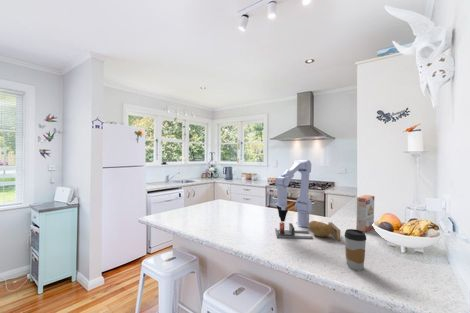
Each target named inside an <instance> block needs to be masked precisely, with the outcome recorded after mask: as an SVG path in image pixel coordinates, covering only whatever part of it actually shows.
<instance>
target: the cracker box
mask: <svg viewBox="0 0 470 313" xmlns="http://www.w3.org/2000/svg"><path fill="white" fill-rule="evenodd" d="M374 218H375V196H374V195H370V194H365V195H360V196H357V197H356V230H360V231H363V232H364V233H366V232H369V231H370V230H372V229H373V226H372V224H373V223H374V224H375V220H374Z"/></svg>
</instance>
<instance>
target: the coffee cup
mask: <svg viewBox="0 0 470 313" xmlns="http://www.w3.org/2000/svg"><path fill="white" fill-rule="evenodd" d="M343 236H344V243H345V247H344V248H345V249H344V250H345V259H346V265H347V267H348V268H349V269H351V270H353V271H362V270H363V269H364V266H365V256H366V242H367V235H366V232H363V231H360V230H356V229H355V228H349V229H348V228H347V229H346V230H345V232H344V235H343Z"/></svg>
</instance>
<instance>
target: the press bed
mask: <svg viewBox="0 0 470 313" xmlns="http://www.w3.org/2000/svg"><path fill="white" fill-rule="evenodd" d="M328 225H330V226H331V227H332V228H333V233H332V234H330V235H331V237H332V238H334V240H335V241H336V242H341V229H340V228H338V227H337V226H336V225H335V224H334V223H333V222H332V221H331V222H328ZM274 230H275V236H276V238H277V239H278V238H279V239H302V240H303V239H306V240H308V239H309V240H313V239H314V238H313V236H311V235H310V236H309V235H307V236H306V235H292V236H284V235H278V232H277V230H278V229H277V228H276V227H275V228H274ZM294 234H310V231H309V230H295V229H294Z"/></svg>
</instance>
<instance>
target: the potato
mask: <svg viewBox="0 0 470 313" xmlns="http://www.w3.org/2000/svg"><path fill="white" fill-rule="evenodd" d="M308 228H309V230H310V232H311V233H313V235H315V236H317V237H321V238H323V237H329V236H330V235H331V234H332V233H333V228H332V227H331V226H330V225H328V224H327V223H324V222H321V221H317V220H311V221H309V227H308Z"/></svg>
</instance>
